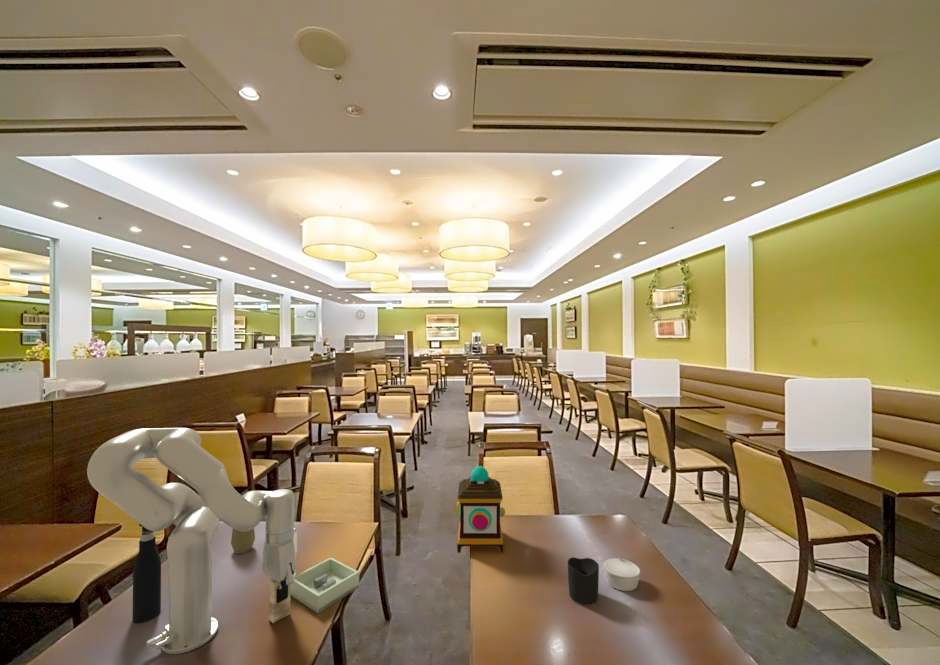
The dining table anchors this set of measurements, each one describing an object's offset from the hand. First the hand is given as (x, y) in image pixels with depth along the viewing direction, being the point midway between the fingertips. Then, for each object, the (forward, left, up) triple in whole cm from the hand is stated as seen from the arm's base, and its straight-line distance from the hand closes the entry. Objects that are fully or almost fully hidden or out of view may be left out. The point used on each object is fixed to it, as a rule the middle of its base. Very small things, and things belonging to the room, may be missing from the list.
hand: (279, 598), depth 116 cm
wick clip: (+15, 0, -6) cm, 16 cm away
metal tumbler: (+12, +17, -6) cm, 22 cm away
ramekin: (+74, -77, -6) cm, 107 cm away
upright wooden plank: (0, 0, -5) cm, 5 cm away
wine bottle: (-22, +32, -6) cm, 40 cm away
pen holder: (+60, -69, -6) cm, 91 cm away
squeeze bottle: (+12, +47, -6) cm, 49 cm away
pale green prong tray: (+15, 0, -6) cm, 16 cm away
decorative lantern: (+69, -24, -6) cm, 73 cm away
